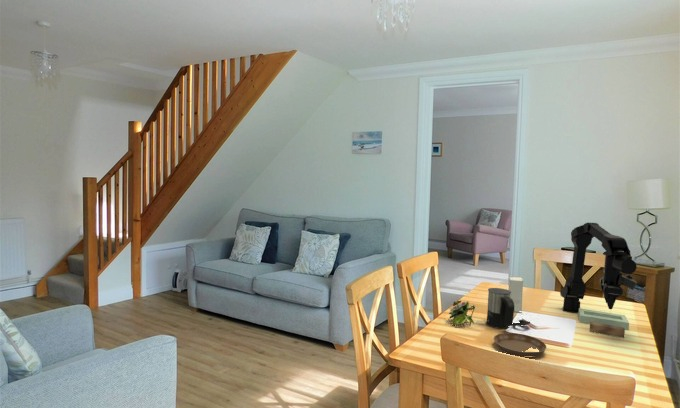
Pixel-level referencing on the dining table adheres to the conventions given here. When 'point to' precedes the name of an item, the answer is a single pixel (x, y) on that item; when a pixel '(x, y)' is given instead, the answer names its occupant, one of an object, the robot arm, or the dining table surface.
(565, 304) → the robot arm
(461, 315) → the green leafy plant
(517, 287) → the skincare box
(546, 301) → the dining table surface
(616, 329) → the walnut peg
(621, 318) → the sage cradle
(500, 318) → the milk frother
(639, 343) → the dining table surface
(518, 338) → the plant saucer
